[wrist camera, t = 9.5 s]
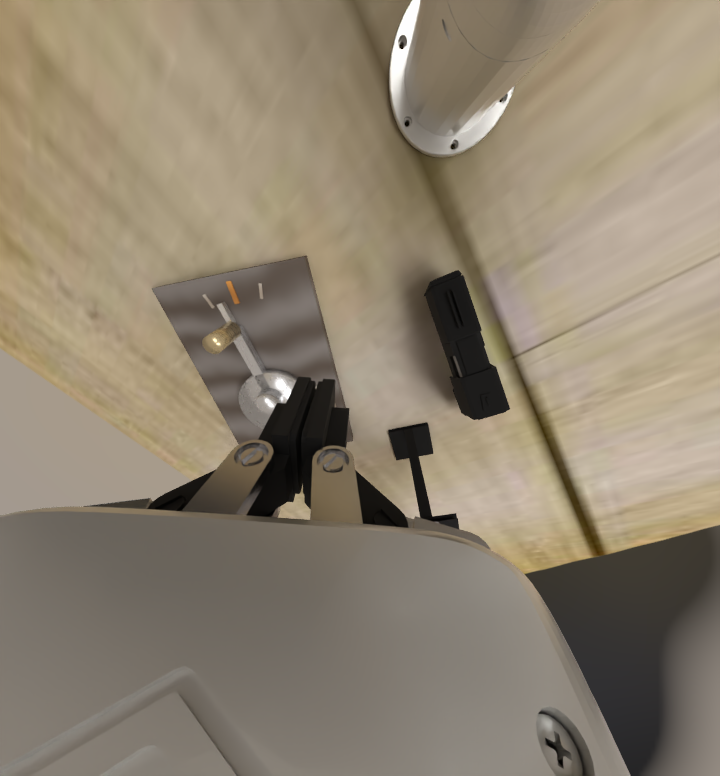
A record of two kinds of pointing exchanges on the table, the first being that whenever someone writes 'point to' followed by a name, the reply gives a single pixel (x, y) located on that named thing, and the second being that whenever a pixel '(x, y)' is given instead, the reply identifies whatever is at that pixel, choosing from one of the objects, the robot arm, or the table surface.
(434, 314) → the toy
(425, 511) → the handbag
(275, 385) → the crank handle
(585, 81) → the table surface
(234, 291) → the level board
